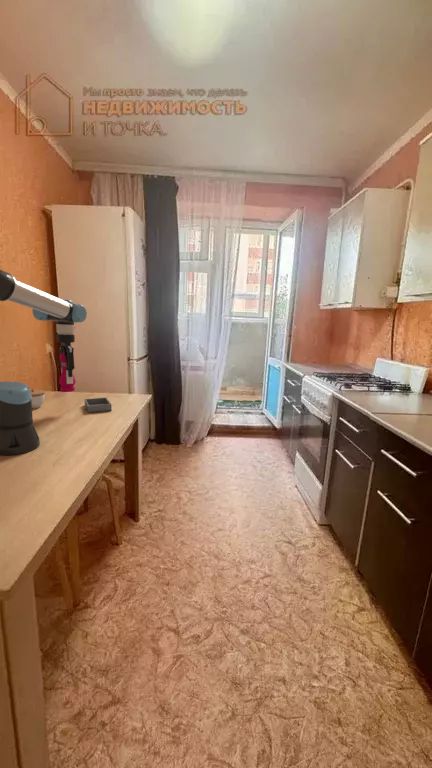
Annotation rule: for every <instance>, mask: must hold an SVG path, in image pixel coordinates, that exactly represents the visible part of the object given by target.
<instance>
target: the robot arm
mask: <svg viewBox="0 0 432 768" xmlns="http://www.w3.org/2000/svg"><path fill="white" fill-rule="evenodd" d="M6 301H8V302H11V303H15V304H17V305H21V306H24V307H26V308H29V309H32V316H33V317H34V318H35V319H36V320H37V321H42V322H45V321H47V322H48V321H50V322H56V333H57V334H56V342H57V343H60V345H59V346H58V347H59V356H60V355H61V354H62V353H64V356H66V365H67V369H65V370H66V377H67V384H73V375H74V369H75V358H74V357H75V356H74V354H75V353H74V347H72V344H71V343H75V337H76V336H75V329H76V326H75V324H76V323H83V322H84V321H86V319H87V314H88V312H87V309H86V307H85V306H84V305H83V304H80V303H79V304H78V303H74V301H73V300H71V299H62V298H59V297H57V296H55V295H52V294H50V293H48V292H45V291H43V290H42V289H38V288H36V287H34V286H32V285H29V284H27V283H24V282H22V281H19V280H18V279H16V278H15V277H14V275H13V274H11V273H9V272H7V271H5V270H3V269H0V302H6ZM61 363H62V361H61V360H60V359H59V366H60V371H61V374H62V366H61ZM30 390H31V389H30V387H29V386H28V384H26V383H23V382H18V381H11V380H10V381H9V380H7V381H0V456H14V455H15V456H16V455H20V454H25V453H28V452H29V453H30V452H31V451H33V450H35V449H37V448H39V447H40V444H41V441H40V437H39V435H38V433H37V430H36V429H35V426H34V422H33V409H32V400H31V397H32V396H31V393H30Z"/></svg>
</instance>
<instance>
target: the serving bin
mask: <svg viewBox="0 0 432 768" xmlns="http://www.w3.org/2000/svg"><path fill="white" fill-rule="evenodd" d="M84 407H85V409H86V411H87V413H88V414H94V413H103V412H104V413H105V412H112V409H113V408H112V403H111V402H110V400H109V399H108V397H97V398H96V397H95V398H84Z"/></svg>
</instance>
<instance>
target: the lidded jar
mask: <svg viewBox="0 0 432 768" xmlns="http://www.w3.org/2000/svg"><path fill="white" fill-rule="evenodd" d="M30 393H31V396H32V397H31V400H32V410H33V409H38V408H41V406H42V405H43V404H44V402H45V399H46V397H45V395H46V392H45V390H42V389H34V388H31V389H30Z"/></svg>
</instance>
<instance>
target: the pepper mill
mask: <svg viewBox="0 0 432 768" xmlns="http://www.w3.org/2000/svg"><path fill="white" fill-rule="evenodd" d="M60 360H61V361H62V363H61V365H60V367H61V366H62V367H61V368H62V374H61V375H60V376H59V379H58V380H59V381H58V382H59V383H58V384H59V385H60V392H63V393H68V392H69V393H71V392H74V391H76V389H75V388H76V387H75V384H76V378H75V375H74V374H73V384H67V377H66V370H65V369H67V365H66V356H64V353H62V354H61V355H60V354H59V361H60Z"/></svg>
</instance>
